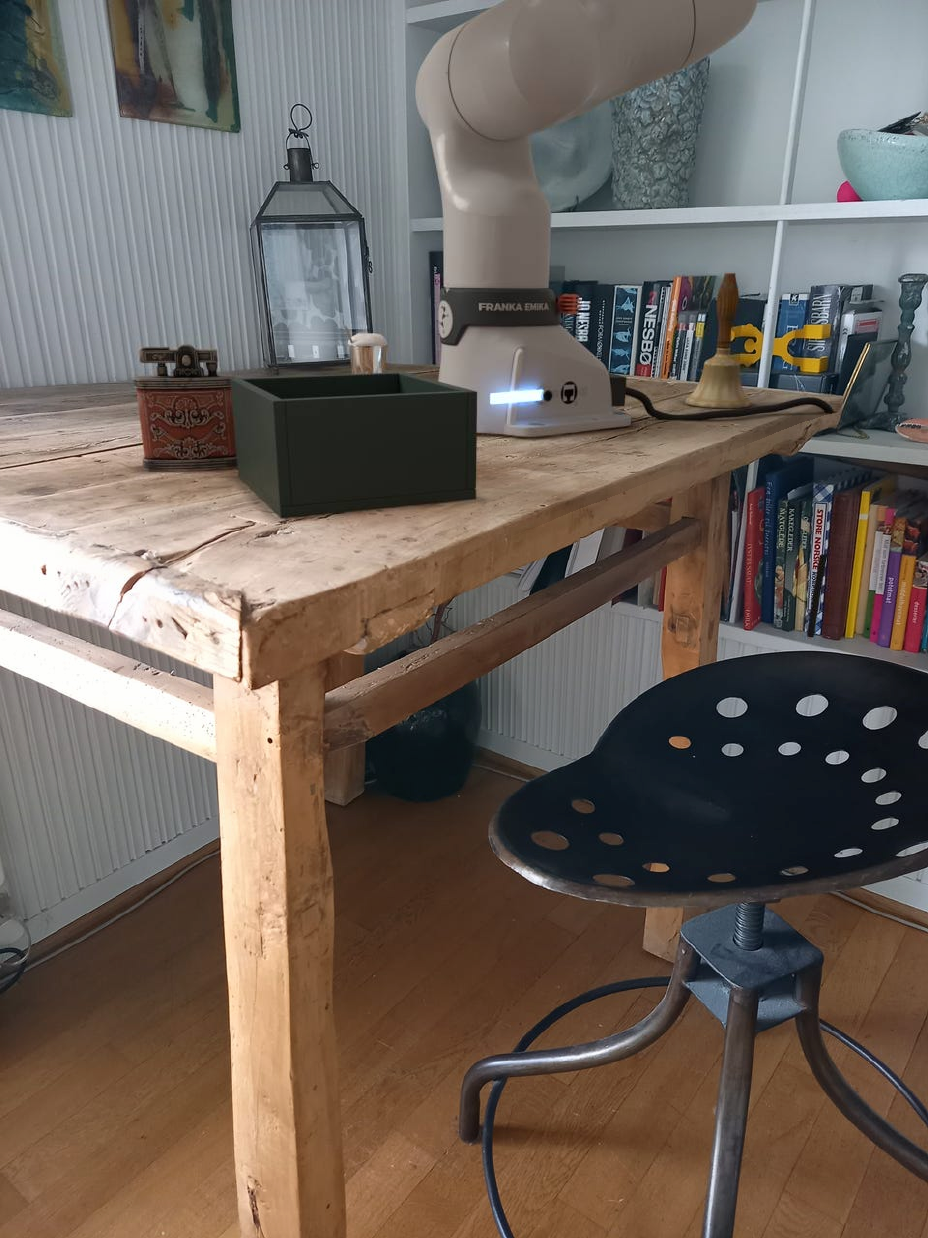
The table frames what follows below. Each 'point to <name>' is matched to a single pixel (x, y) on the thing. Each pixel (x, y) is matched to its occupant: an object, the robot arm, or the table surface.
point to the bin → (354, 441)
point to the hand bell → (722, 358)
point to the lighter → (185, 411)
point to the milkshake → (367, 353)
